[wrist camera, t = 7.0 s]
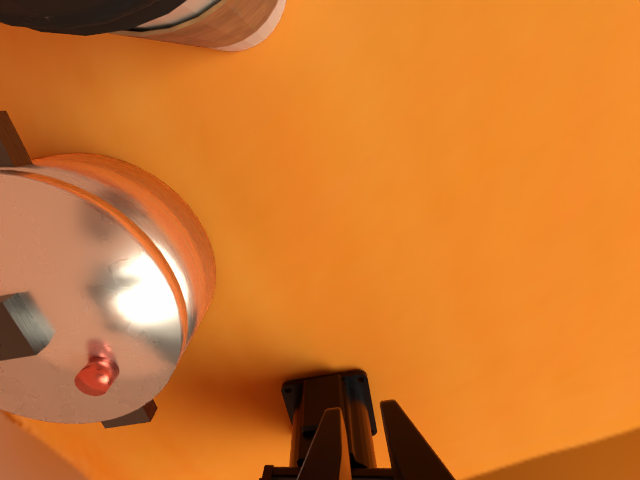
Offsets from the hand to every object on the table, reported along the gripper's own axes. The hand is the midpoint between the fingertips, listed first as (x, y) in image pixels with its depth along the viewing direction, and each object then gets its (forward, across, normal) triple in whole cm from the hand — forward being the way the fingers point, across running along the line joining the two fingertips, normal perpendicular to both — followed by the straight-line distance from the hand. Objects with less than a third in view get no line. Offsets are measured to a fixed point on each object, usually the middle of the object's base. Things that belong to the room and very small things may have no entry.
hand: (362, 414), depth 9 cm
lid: (+8, +16, -1) cm, 17 cm away
